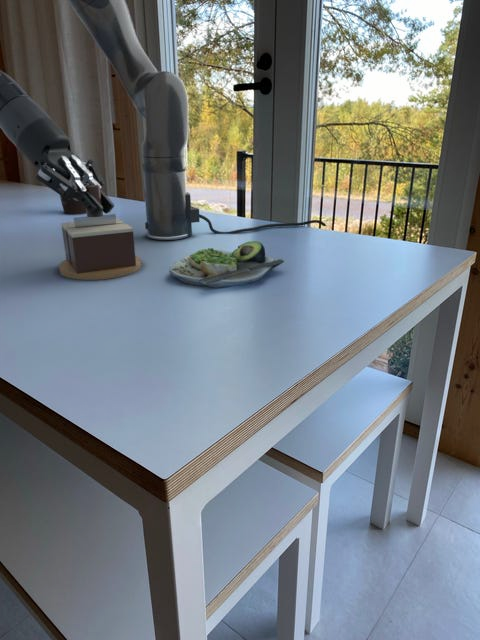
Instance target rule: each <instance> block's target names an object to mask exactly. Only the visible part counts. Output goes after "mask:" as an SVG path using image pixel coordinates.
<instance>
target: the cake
mask: <svg viewBox="0 0 480 640" xmlns="http://www.w3.org/2000/svg"><path fill="white" fill-rule="evenodd" d="M60 225H61V230H62V231H61V232H62V239H63V245H64V252H65V259H64V260H63V261H61V262H60V263H59V264H58V270H59V274H60V275H62V276H63V277H66V278H68V279H73V280H82V281H99V280H110V279H116V278H121V277H124V276H125V277H126V276H128V275H131V274H134V273H135V272H138V271H139V270H140V269H141V266H142V263H141V262H142V261H141V258H139V257H138V256H137V255H136V249H135V248H136V247H135V238H134V228H133V227H132V226H131V225H128V224H127V223H125V222H124V221H123V220H121V219H119V218H118V217H116V224H114V225H104V226H93V227H82V228H75V222H74V221H71V222H70V221H69V222H61V223H60Z"/></svg>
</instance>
